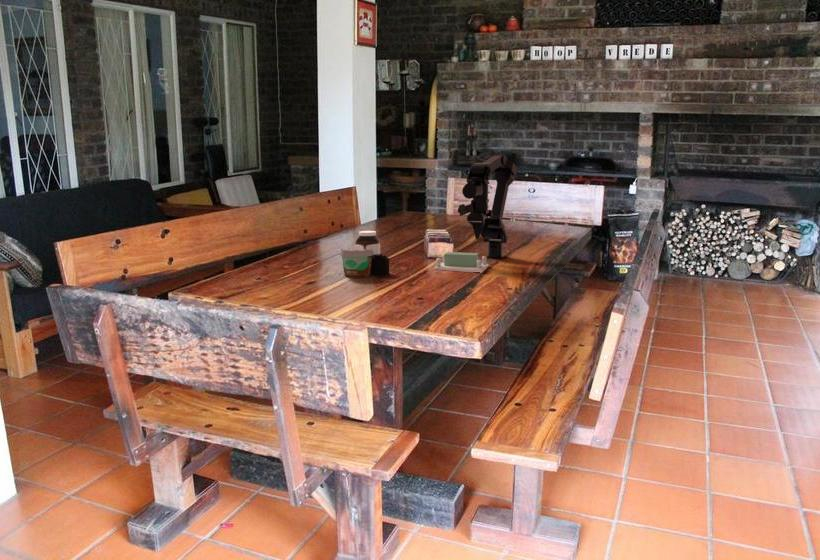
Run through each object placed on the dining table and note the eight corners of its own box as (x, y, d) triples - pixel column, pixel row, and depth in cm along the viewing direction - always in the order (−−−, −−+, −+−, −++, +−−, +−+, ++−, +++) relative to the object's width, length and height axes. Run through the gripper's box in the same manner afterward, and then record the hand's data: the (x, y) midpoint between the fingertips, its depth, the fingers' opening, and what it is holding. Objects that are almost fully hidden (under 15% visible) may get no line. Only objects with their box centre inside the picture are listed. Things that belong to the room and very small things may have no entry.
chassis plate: (442, 265, 284) (442, 254, 284) (488, 267, 279) (488, 256, 278) (434, 270, 273) (434, 259, 272) (481, 273, 268) (481, 261, 267)
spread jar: (381, 258, 302) (381, 230, 300) (377, 263, 291) (377, 234, 289) (352, 258, 304) (352, 230, 301) (347, 262, 292) (347, 233, 290)
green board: (447, 263, 280) (447, 251, 279) (478, 265, 276) (478, 253, 276) (444, 265, 275) (444, 253, 274) (475, 267, 272) (475, 255, 271)
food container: (336, 278, 259) (335, 250, 257) (341, 275, 265) (340, 248, 263) (370, 279, 257) (369, 251, 255) (374, 276, 263) (373, 249, 261)
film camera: (392, 272, 272) (392, 248, 270) (388, 277, 262) (388, 252, 260) (352, 271, 274) (352, 247, 272) (346, 276, 264) (346, 251, 262)
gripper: (465, 194, 289) (465, 234, 292) (453, 198, 272) (453, 240, 275) (493, 195, 286) (492, 235, 289) (483, 199, 268) (482, 241, 271)
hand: (479, 237), depth 281 cm, fingers open, 9 cm apart
